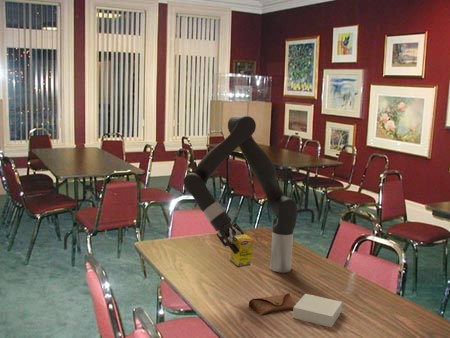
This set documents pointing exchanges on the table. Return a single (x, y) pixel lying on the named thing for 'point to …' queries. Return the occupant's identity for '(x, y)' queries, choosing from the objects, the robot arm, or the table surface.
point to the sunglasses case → (272, 304)
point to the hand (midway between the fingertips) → (242, 249)
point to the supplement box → (242, 251)
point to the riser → (317, 310)
